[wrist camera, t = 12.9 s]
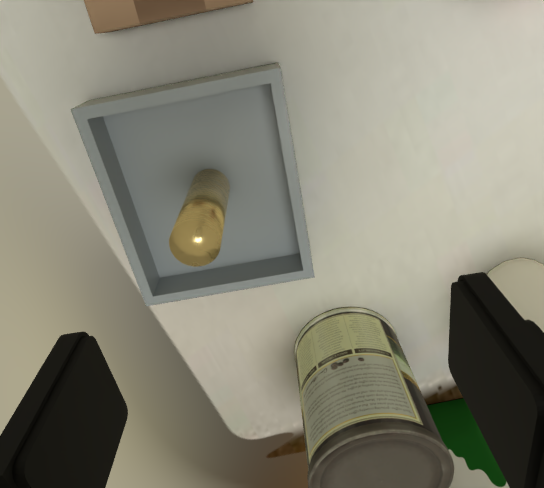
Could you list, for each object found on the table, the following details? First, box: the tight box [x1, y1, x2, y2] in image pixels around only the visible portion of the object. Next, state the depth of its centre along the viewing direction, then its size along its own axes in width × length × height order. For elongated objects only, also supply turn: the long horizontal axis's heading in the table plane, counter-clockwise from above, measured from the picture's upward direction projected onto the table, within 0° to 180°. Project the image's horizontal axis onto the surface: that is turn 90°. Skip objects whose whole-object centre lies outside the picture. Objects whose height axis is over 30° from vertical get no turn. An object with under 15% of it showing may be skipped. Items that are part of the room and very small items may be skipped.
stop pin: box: [169, 169, 230, 267], centre depth 30 cm, size 3×3×10 cm
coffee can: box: [294, 307, 454, 488], centre depth 37 cm, size 10×10×14 cm
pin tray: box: [71, 63, 314, 306], centre depth 34 cm, size 16×14×4 cm
